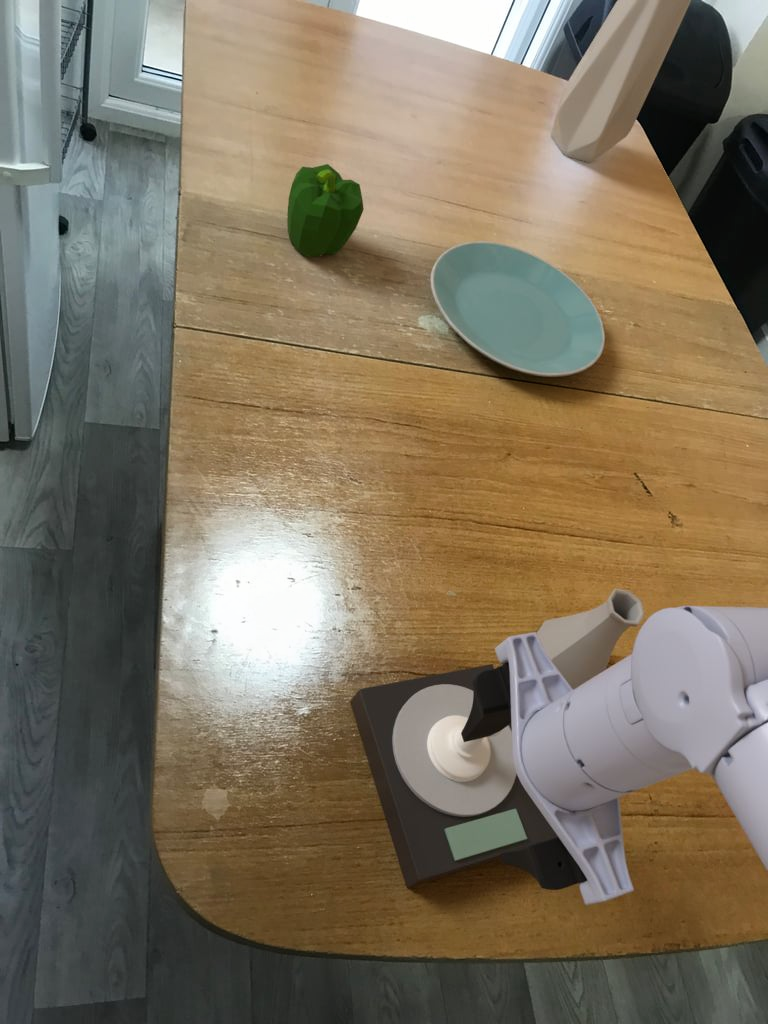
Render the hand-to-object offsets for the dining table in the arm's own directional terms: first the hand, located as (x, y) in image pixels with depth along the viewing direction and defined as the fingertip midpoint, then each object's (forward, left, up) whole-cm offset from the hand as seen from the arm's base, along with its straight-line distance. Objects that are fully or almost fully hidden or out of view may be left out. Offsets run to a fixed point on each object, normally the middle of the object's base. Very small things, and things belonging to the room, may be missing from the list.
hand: (494, 793), depth 53 cm
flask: (+11, -18, -11) cm, 23 cm away
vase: (+92, -60, -11) cm, 110 cm away
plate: (+53, -31, -11) cm, 62 cm away
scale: (+4, -3, -11) cm, 12 cm away
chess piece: (+5, -3, -8) cm, 10 cm away
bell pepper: (+65, -9, -11) cm, 67 cm away
